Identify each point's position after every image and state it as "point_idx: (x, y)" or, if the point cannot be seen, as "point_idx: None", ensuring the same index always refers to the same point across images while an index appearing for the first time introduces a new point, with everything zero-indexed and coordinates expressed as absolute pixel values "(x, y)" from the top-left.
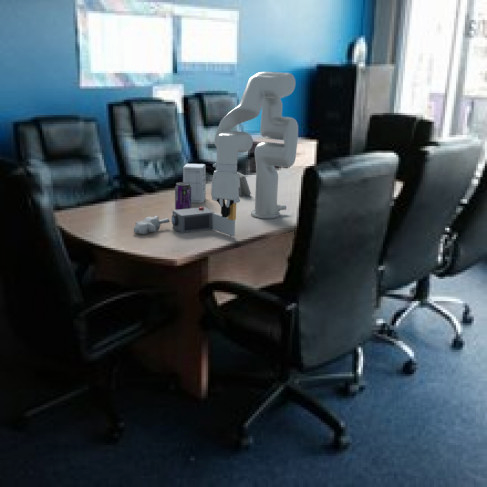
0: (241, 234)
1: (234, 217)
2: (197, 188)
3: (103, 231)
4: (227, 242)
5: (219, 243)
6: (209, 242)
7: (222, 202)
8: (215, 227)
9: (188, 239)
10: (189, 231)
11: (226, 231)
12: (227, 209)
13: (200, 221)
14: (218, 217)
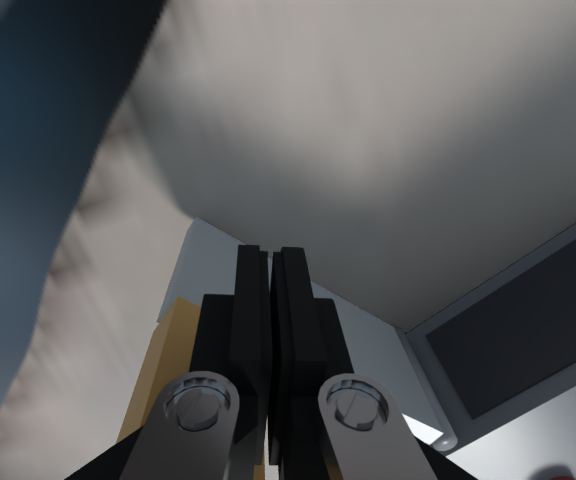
0: None
1: (157, 335)
2: None
3: None
4: (201, 69)
5: (264, 9)
6: (365, 10)
7: (348, 473)
8: (377, 329)
9: (568, 44)
10: (561, 238)
11: (269, 269)
12: (216, 353)
13: (520, 334)
14: None
